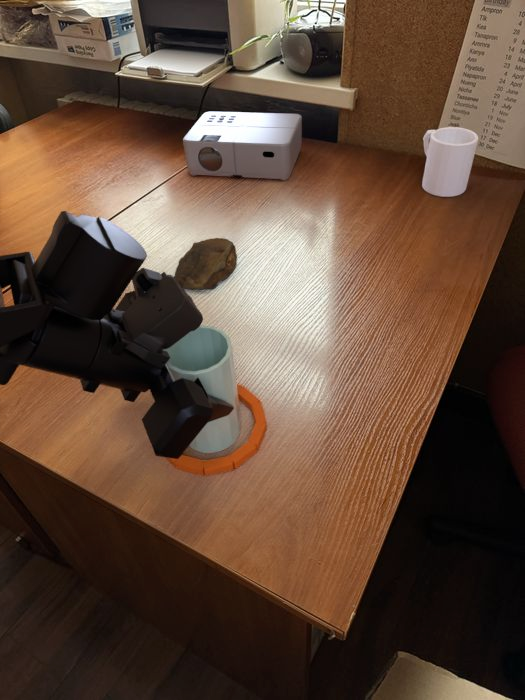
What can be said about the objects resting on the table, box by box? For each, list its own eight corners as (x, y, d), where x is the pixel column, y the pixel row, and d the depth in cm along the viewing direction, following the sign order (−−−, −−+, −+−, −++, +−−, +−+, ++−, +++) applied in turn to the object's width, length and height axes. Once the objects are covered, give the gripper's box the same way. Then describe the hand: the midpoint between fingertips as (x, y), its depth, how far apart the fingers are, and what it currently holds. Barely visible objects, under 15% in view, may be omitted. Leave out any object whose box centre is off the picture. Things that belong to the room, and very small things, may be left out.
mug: (434, 166, 103) (444, 117, 96) (474, 190, 95) (488, 138, 88) (401, 175, 101) (409, 125, 94) (439, 201, 93) (450, 148, 86)
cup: (175, 449, 56) (152, 370, 47) (191, 402, 61) (173, 322, 52) (234, 456, 55) (222, 377, 46) (246, 408, 60) (237, 327, 51)
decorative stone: (220, 296, 76) (218, 277, 73) (163, 287, 78) (159, 269, 76) (242, 258, 83) (240, 239, 81) (189, 250, 85) (186, 232, 83)
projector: (209, 145, 117) (204, 110, 111) (302, 149, 113) (302, 112, 107) (186, 177, 105) (179, 140, 100) (289, 183, 101) (288, 144, 96)
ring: (161, 485, 53) (159, 479, 52) (155, 398, 62) (153, 392, 61) (276, 461, 55) (275, 455, 54) (253, 379, 63) (253, 373, 62)
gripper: (168, 340, 35) (306, 388, 45) (105, 220, 47) (226, 281, 58) (88, 451, 38) (234, 471, 49) (49, 312, 50) (173, 353, 61)
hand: (216, 385), depth 54 cm, fingers open, 7 cm apart
